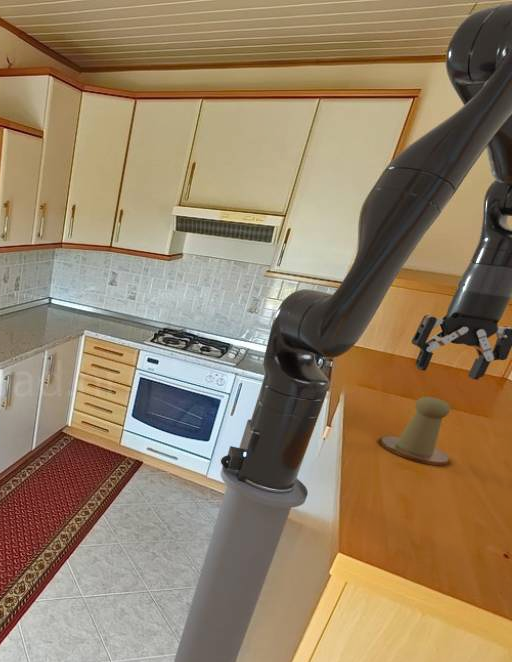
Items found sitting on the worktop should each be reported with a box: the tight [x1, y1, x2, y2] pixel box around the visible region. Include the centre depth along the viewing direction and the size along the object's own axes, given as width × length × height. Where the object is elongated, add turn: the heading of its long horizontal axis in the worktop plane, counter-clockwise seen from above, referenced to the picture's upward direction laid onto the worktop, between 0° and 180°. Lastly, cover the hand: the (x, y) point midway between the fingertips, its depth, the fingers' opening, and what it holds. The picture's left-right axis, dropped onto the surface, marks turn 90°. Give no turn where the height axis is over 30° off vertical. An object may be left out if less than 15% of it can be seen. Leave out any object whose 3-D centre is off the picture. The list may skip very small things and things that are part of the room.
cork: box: [396, 396, 451, 456], centre depth 98 cm, size 6×6×11 cm
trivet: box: [380, 435, 450, 466], centre depth 100 cm, size 11×11×1 cm
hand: (446, 373), depth 95 cm, fingers open, 8 cm apart
